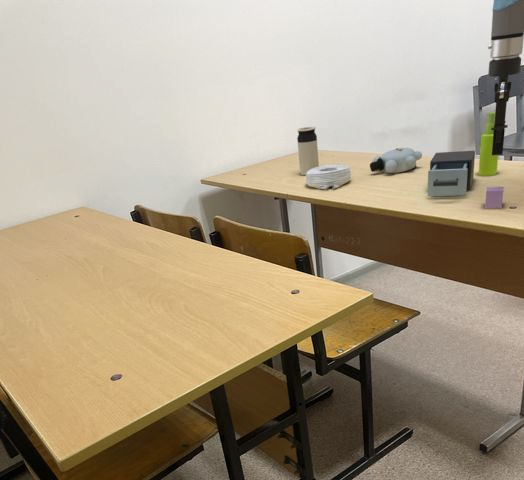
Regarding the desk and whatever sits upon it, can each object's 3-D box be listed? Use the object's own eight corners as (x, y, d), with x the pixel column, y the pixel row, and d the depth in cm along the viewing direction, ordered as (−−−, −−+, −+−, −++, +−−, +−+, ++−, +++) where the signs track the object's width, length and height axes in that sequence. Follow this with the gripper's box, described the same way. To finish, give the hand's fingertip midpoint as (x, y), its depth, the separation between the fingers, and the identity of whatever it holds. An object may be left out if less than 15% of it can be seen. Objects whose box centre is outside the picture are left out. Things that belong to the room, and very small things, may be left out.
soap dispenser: (497, 175, 182) (503, 113, 173) (476, 175, 186) (480, 114, 176) (501, 171, 186) (506, 110, 177) (480, 172, 190) (485, 111, 180)
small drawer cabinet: (469, 190, 171) (471, 159, 166) (429, 191, 175) (430, 161, 171) (473, 179, 182) (475, 150, 177) (435, 181, 187) (435, 152, 182)
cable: (332, 191, 193) (331, 174, 190) (296, 188, 204) (294, 172, 201) (360, 179, 203) (359, 163, 200) (323, 177, 215) (322, 162, 212)
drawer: (464, 199, 159) (466, 173, 155) (425, 200, 164) (425, 174, 160) (469, 184, 174) (470, 159, 170) (433, 185, 178) (433, 161, 174)
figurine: (407, 161, 218) (363, 175, 216) (405, 140, 214) (360, 154, 212) (430, 168, 203) (383, 183, 201) (428, 145, 199) (380, 160, 197)
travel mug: (307, 176, 220) (304, 130, 212) (296, 174, 226) (292, 129, 218) (323, 172, 224) (319, 126, 215) (311, 170, 230) (308, 126, 221)
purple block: (502, 204, 154) (503, 186, 151) (501, 208, 150) (503, 190, 148) (485, 204, 155) (487, 187, 153) (484, 208, 152) (486, 191, 150)
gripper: (490, 58, 141) (483, 150, 153) (488, 61, 131) (480, 160, 143) (521, 54, 138) (512, 148, 150) (521, 57, 128) (511, 158, 140)
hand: (497, 154), depth 146 cm, fingers closed
